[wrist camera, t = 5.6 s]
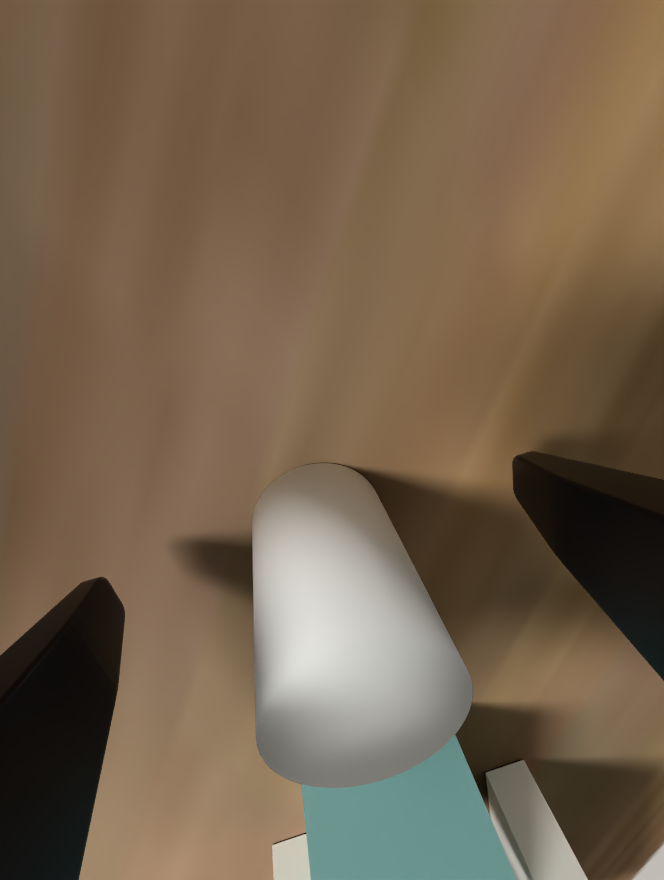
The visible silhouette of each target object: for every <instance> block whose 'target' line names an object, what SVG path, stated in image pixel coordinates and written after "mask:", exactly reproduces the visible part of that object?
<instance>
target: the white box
mask: <svg viewBox="0 0 664 880" xmlns="http://www.w3.org/2000/svg"><path fill="white" fill-rule="evenodd" d="M486 781H487V790H488V798H489V807H490V816H491V820H492V822H493V825H494V827H495V830H496V832H497V834H498V837H499V839H500V841H501V844H502V846H503V849H504V851H505V853H506V856H507V858H508V860H509V863H510V865H511V867H512V870H513V872H514V875H515V877H516V879H517V880H588V879H587V877H586V875H585V873H584V872H583V870H582V868H581V866H580V864H579V862H578V860H577V859H576V857H575V855H574V853H573V851H572V849H571V847H570V845H569V844H568V842H567V840H566V838H565V836H564V834H563V832H562V830H561V829H560V827H559V825H558V823H557V821H556V819H555V817H554V815H553V814H552V812H551V810H550V808H549V806H548V804H547V802H546V800H545V799H544V797H543V795H542V793H541V791H540V789H539V787H538V785H537V784H536V782H535V780H534V778H533V776H532V774H531V772H530V770H529V769H528V767H527V765H526V763H525V761H524V760H521V761H518V762H516V763H513V764H510V765H507V766H504V767H501V768H498V769H495V770H492V771H489V772H486ZM272 851H273V875H274V880H311V876H310V866H309V856H308V846H307V836H306V834H304V835H301V836H298V837H295V838H292V839H289V840H286V841H283V842H280V843H277V844H274V845H272Z"/></svg>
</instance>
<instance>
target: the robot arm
mask: <svg viewBox="0 0 664 880" xmlns="http://www.w3.org/2000/svg"><path fill="white" fill-rule="evenodd" d="M512 469H513V490H514V494H515V496H516V498H517V500H518V501H519V503H520V504H521V506H522V507H523V509H524V510H525V512H526V513H527V514H528V516H529V517H530V519H531V520H532V522H533V523H534V525H535V526H536V528H537V529H538V531H539V532H540V533H541V535H542V536H543V538H544V539H545V541H546V542H547V544H548V545H549V546H550V548H551V549H552V551H553V552H554V553H555V555H556V556H557V557H558V558H559V559H560V561H561V562H562V563H563V564H564V565H565V567H566V568H567V569H568V570H569V571H570V572H571V574H572V575H573V576H574V577H575V578H576V579H577V581H578V582H579V583H580V584H581V585H582V586H583V588H584V589H585V590H586V591H587V592H588V593H589V594H590V596H591V597H592V598H593V599H594V600H595V601H596V603H597V604H598V605H599V606H600V607H601V608H602V610H603V611H604V612H605V613H606V614H607V615H608V617H609V618H610V619H611V620H612V621H613V622H614V623H615V625H616V626H617V627H618V628H619V629H620V630H621V632H622V633H623V634H624V635H625V636H626V637H627V639H628V640H629V641H630V642H631V643H632V644H633V646H634V647H635V648H636V649H637V650H638V651H639V653H640V654H641V655H642V656H643V657H644V658H645V659H646V661H647V662H648V663H649V664H650V665H651V666H652V668H653V669H654V670H655V671H656V672H657V673H658V675H659V676H660V677H661V678H662V679H663V680H664V480H661V479H657V478H652V477H648V476H643V475H639V474H634V473H630V472H625V471H621V470H616V469H612V468H607V467H603V466H598V465H594V464H589V463H584V462H580V461H575V460H571V459H566V458H562V457H557V456H553V455H548V454H544V453H539V452H535V451H531V452H527V453H524V454H520V455H517V456H515V457H514V458H513V462H512ZM124 622H125V611H124V607H123V604H122V602H121V601H120V599H119V598H118V596H117V594H116V593H115V591H114V589H113V588H112V586H111V584H110V583H109V581H108V580H107V579H106V578H104V577H98V578H95V579H91V580H88V581H84V582H82V583H81V584H79V585H78V586H77V587H76V588H75V589H74V590H73V591H71V592H70V593H69V594H68V595H67V596H66V597H65V598H64V599H63V600H61V601H60V602H59V603H58V604H57V605H56V606H55V607H54V608H53V609H51V610H50V611H49V612H48V613H47V614H46V615H45V616H44V617H43V618H42V619H40V620H39V621H38V622H37V623H36V624H35V625H34V626H33V627H32V628H30V629H29V630H28V631H27V632H26V633H25V634H24V635H23V636H22V637H20V638H19V639H18V640H17V641H16V642H15V643H14V644H13V645H12V646H10V647H9V648H8V649H7V650H6V651H5V652H4V653H3V654H2V655H0V880H79V876H80V871H81V866H82V861H83V856H84V851H85V847H86V842H87V837H88V832H89V827H90V822H91V817H92V813H93V808H94V803H95V798H96V793H97V788H98V784H99V779H100V774H101V769H102V764H103V759H104V755H105V750H106V745H107V740H108V735H109V730H110V726H111V721H112V716H113V711H114V706H115V701H116V696H117V690H118V683H119V674H120V664H121V653H122V643H123V632H124Z"/></svg>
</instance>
